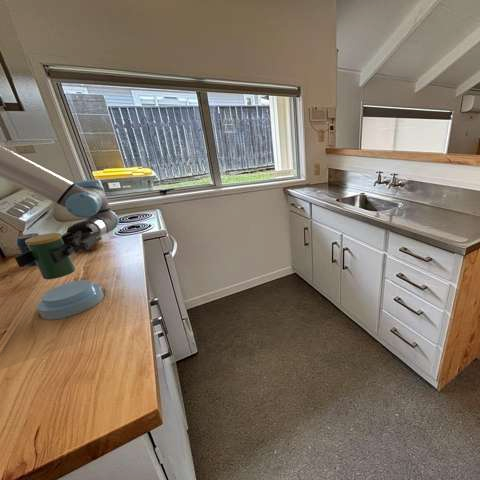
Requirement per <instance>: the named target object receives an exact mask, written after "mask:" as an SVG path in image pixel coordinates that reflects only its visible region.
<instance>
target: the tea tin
mask: <svg viewBox="0 0 480 480" xmlns="http://www.w3.org/2000/svg"><path fill="white" fill-rule="evenodd" d="M61 235H62V233H60V232H51V233H44V234H39V235H38V236H34V237H31V238H28V239H26V240H25V242H26V244H27V245H28V247H29V249H30V251H31V254H32V256H33V258H34V260H35V262H36V264H37V265H36V266H37V269H38V270H39V272H40V275H41V276H42V278H43V280H56V279H59V278H64V277H66V276H68V275H70V274H73V273H74V272H75V271H76V268H75V266H74V262H73V260H72V258H71V255H69V256H68V257H66V258H64V259H63V260H61V261H60V262H58V263H54V261H53V259H52V257H51V255H50V253H52V252H54V251H56V250H57V249H59V248H61V247H63V246H64V245H65V244H64V242H63V239H62V236H61Z"/></svg>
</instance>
